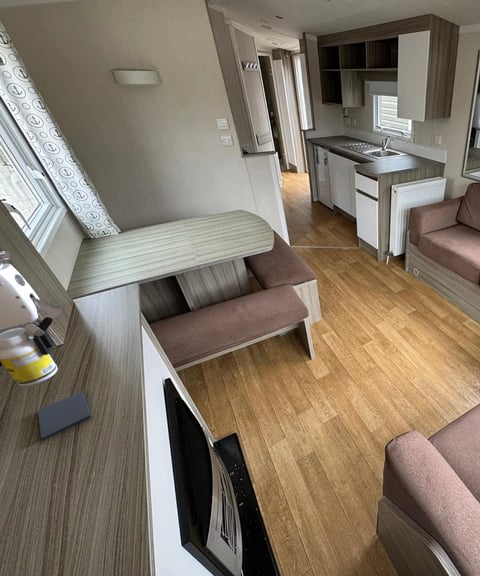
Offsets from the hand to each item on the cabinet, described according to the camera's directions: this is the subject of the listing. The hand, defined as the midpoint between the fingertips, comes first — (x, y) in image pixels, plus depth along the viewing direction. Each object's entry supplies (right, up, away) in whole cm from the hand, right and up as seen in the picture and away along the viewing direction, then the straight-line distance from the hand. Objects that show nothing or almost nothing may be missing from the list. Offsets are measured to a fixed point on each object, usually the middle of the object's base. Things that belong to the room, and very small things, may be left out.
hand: (24, 356), depth 55 cm
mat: (0, -13, +7) cm, 15 cm away
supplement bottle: (0, -5, +2) cm, 5 cm away
